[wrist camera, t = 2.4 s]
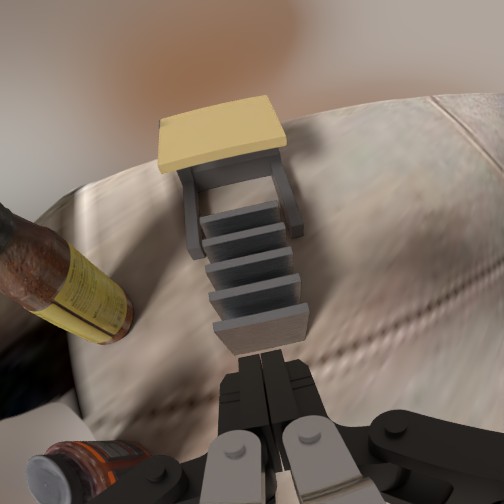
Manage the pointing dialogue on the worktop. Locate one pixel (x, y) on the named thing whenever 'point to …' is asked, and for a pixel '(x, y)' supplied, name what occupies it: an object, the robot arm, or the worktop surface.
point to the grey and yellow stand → (225, 156)
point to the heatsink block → (253, 279)
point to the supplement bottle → (80, 469)
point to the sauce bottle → (60, 282)
